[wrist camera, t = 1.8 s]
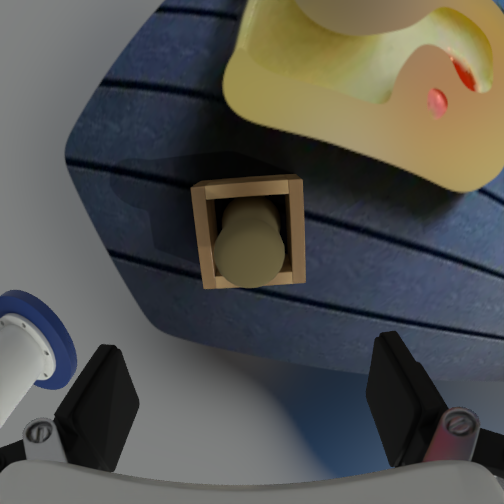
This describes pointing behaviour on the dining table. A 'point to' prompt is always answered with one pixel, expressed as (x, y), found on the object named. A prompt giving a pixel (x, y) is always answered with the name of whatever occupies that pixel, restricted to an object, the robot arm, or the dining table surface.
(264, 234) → the olive rounded figure
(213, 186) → the frame
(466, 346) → the dining table surface
